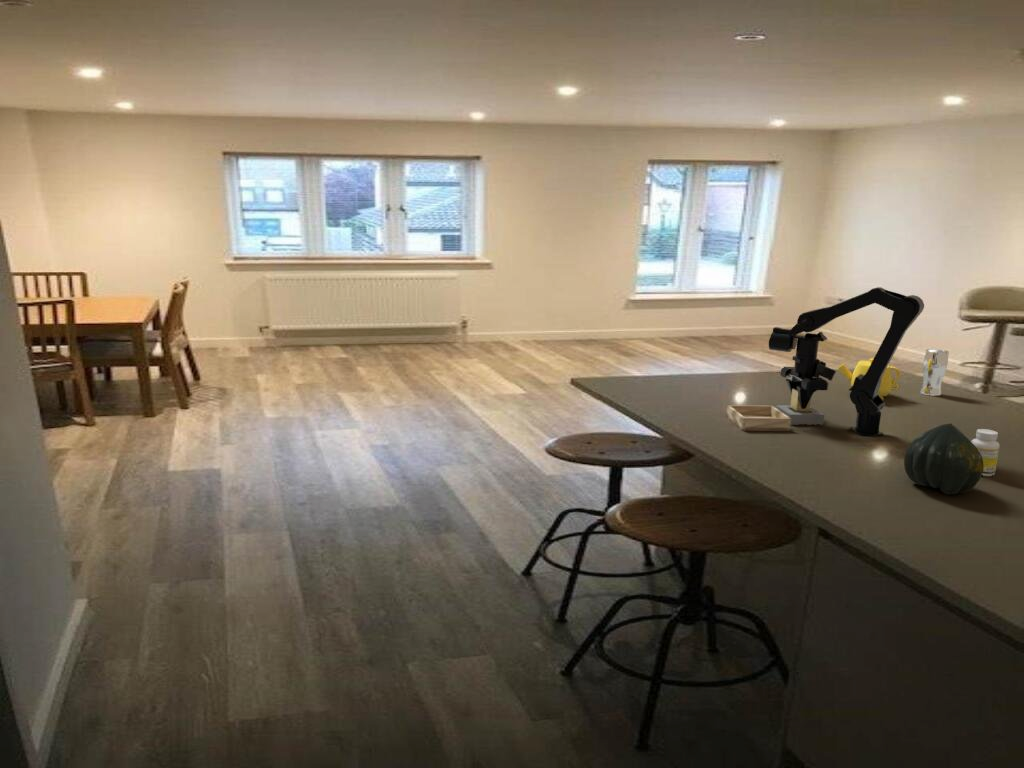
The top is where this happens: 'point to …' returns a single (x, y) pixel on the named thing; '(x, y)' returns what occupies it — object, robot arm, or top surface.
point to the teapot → (863, 368)
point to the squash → (944, 460)
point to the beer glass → (934, 371)
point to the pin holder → (802, 416)
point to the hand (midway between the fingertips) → (800, 406)
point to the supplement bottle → (987, 449)
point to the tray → (758, 418)
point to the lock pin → (798, 403)
